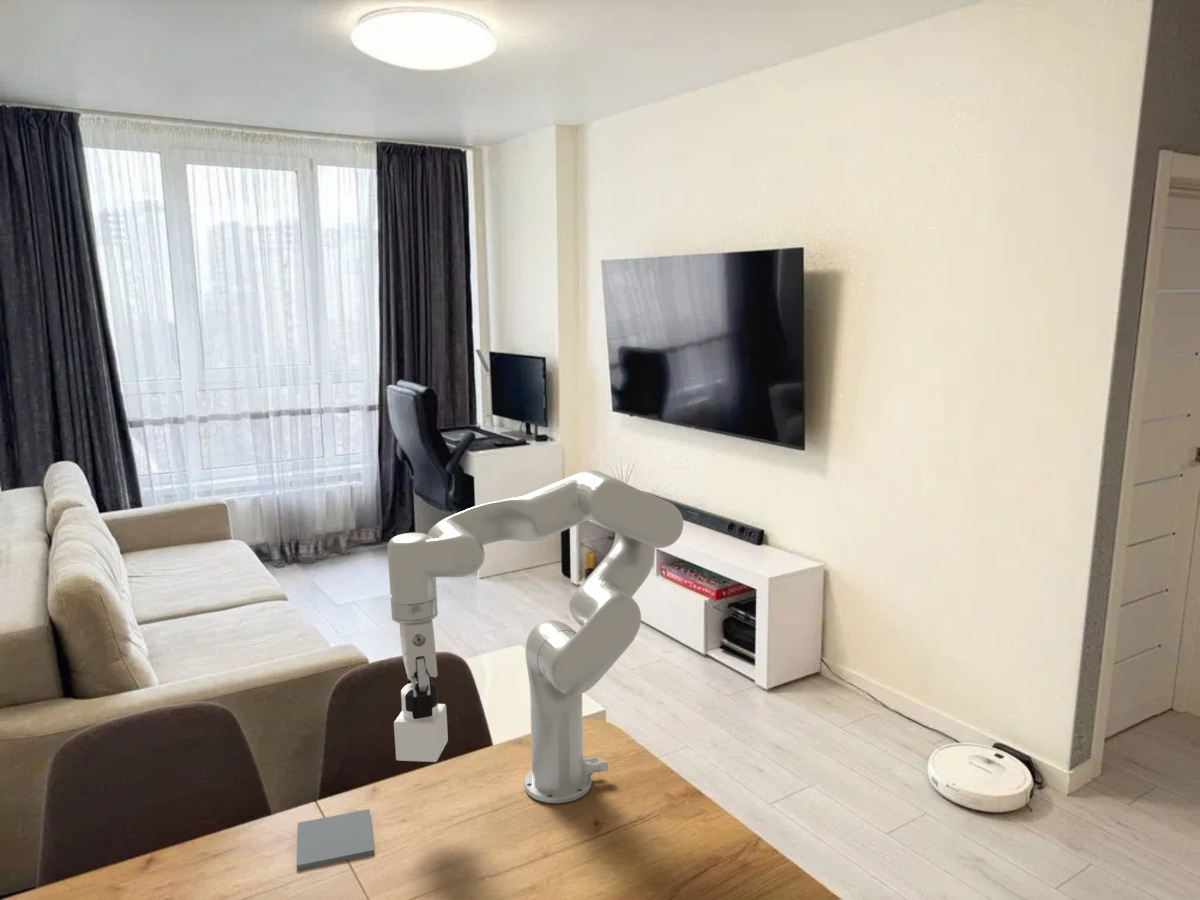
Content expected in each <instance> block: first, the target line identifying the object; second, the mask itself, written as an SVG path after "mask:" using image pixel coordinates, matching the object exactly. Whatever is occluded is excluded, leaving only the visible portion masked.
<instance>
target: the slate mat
mask: <svg viewBox="0 0 1200 900" xmlns="http://www.w3.org/2000/svg"><path fill="white" fill-rule="evenodd" d="M371 820H372V819H371V812H370V808H368V809H363V810H358V811H352V812H347V813H343V814H342V813H341V814H337V815H331V816H327V817H321V818H316V819H310V820H305V821H300V822H297V835H296V836H297V838H296V843H297V844H296V871H298V870H299V871H300V870H304V869H309V868H314V867H320V866H323V865H324V866H325V865H329V864H333V863H337V862H343V861H347V860H348V861H349V860H352V859H358V858H362V857H367V856H372V855H375V847H374V839H373V837H374V836H373V831H372V829H373V828H372V821H371Z"/></svg>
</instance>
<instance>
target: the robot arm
mask: <svg viewBox="0 0 1200 900" xmlns="http://www.w3.org/2000/svg"><path fill="white" fill-rule="evenodd" d="M587 521H591V522H593V523H595V524H597V525H599V526H601V527H603V528H605V529H607V530H610V531H611V532H614V533H615V535H614V540H613V543H612V546H611V548H610V549H609V552H608V553H607V555H606V556H605V557H603V559H602V561H601V562H599V564H598V565H597V566H596V567H595V569H594V570H593V571H592V572H591V573H590V574H589V575H588V576H587V577H586V578H585V579H584V581H583V582H582V583H581V584H580V585H579V586H578V588H576V589H575V591H574V592H573V594H572V595H571V597H570V601H569V605H568V607H569V612H570V615H571V617H572V618H573V619H574V622H576V623H577V624H578V625H579V626H580V628H579V629H578V631H576V630H575V629H574V628H572V627H571V626H569V625H568V624H566V623H565V622H562V621H559V620H554V619H549V620H548V619H547V620H544V621H542V622H539V623H538V624H536V625H535V626H534V627H533V628H532V629H531V631H530V632H529V634H528V636H527V639H526V642H525V650H524V651H525V662H526V668H527V675H528V682H529V693H530V699H529V700H530V736H531V738H530V739H531V745H530V746H531V770H529V771H528V772H527V774H526V775H525V777H524V781H523V782H524V783H523V786H524V790H525V792H526V794H528V795H529V796H530V797H531V798H533V799H534V800H536V801H539V802H542V803H548V804H564V803H569V802H574V801H576V800H578V799H581V798H582V797H584V796H586V795H587V793H589V791H590V790H591V789H592V776H593V774H595V773H602V772H607V771H609V764H608V763H609V762H608V761H607V760H606V759H605V760H599V761H598V757H597V756H596V755H594V756H589V757H584V751H583V750H584V745H583V744H584V741H583V740H584V739H583V737H584V735H583V733H584V732H583V694H584V693H586V692H588V691H589V690H591V689H592V688H593V687H595V686H596V685H597V683H598V682H599V681H600V680H601V679H602V678H603V677H604V676H605V675H606V673H607V672H608V671H609V670H610V669H611V667H612V666H613V665H615V663H616V661H617V660H619V659H620V657H621V656H622V655H623V654H624V653H625V651H626V650H627V649H628V648H629V647H630V646H631V644H632V643H633V642H634V640H635V638H636V636H637V635H638V632H639V631H640V626H641V623H642V613H641V609H640V606H639V605H638V603H637V601H636V600H635V599H634V598H633V597H634V595H635V594H637V591H638V590H639V589H640V587H642V585H643V583H644V582H645V581H646V580H647V578H648V577H649V575H650V573H651V571H652V569H653V565H654V561H655V554H656V553H655V552H656V549H663V548H667V547H670V546H671V545H674V544H675V543H676V542H677V541H678V540H679V538H680V537H681V535H682V534H683V533H682V532H683V529H684V517H683V515H682V513H681V511H680V510H679V508H677V506H676V505H675V504H673V503H671V502H669V501H667V500H665V499H662V498H659V497H657V496H655V495H652V494H650V493H648V492H645V491H643V490H640V489H638V488H636V487H634V486H632V485H630V484H628V483H626V482H624V481H622V480H620V479H618V478H617V477H616V478H615V477H613V476H611V475H608V474H606V473H604V472H601V471H598V470H594V469H593V470H592V469H591V470H589V469H587V470H584V471H580V472H578V473H577V472H576V473H574V474H573V475H570V476H567V477H565V478H563V479H561V480H558V481H555V482H553V483H550V484H549V485H548V484H547V485H545V486H543V487H541V488H539V489H536V490H534V491H531V492H528V493H526V494H523V495H520V496H516V497H510V498H505V499H502V500H501V499H500V500H497V501H496V500H495V501H492V502H487V503H482V504H480V505H476V506H472V507H470V508H466V509H465V510H462V511H459V512H457V513H454V514H453V515H450V516H448V517H445V518H443V519H441V520H440V521H438V522H437V523H435V524H434V525H433V526H432V527H431V528H430V529H429V531H428V532H427V533H422V532H407V533H406V532H405V533H401V534H397V535H395V536H393V537H392V538H390V540H389V541H388V543H387V561H388V562H387V563H388V573H389V575H388V577H389V590H390V592H389V594H390V596H389V597H390V609H391V619H392V621H393V622H395V623H397V624H399V635H400V645H401V646H400V647H401V653H402V659H403V664H404V668H405V673H406V675H407V678H406V680H407V681H406V682H407V683H406V685H407V684H409V683H412V688H413V695H412V696H411V697H412V714H413V718H414V719H419V718H425V717H431V716H432V697H431V693H430V684H429V682H430V678H437V676H438V666H437V665H438V664H437V655H436V654H437V653H436V640H435V639H436V638H435V631H434V630H435V629H434V621H433V620H434V619H435V618H437V616H438V614H439V611H438V596H437V595H438V594H437V592H438V591H437V578H464V577H468V576H471V575H473V574H475V573H476V572H478V571H479V570H480V569H481V567H482V566H483V564H484V562H485V556H486V554H485V549H484V546H485V545H488V544H493V543H496V542H502V541H517V542H518V541H519V542H541V541H543V540H546V539H548V538H550V537H553V536H555V535H557V534H559V533H563V532H565V531H567V530H568V529H571V528H573V527H576V526H578V525H580V524H582V523H585V522H587ZM416 681H418V685H417V687H416Z"/></svg>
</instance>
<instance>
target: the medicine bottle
mask: <svg viewBox="0 0 1200 900" xmlns="http://www.w3.org/2000/svg"><path fill="white" fill-rule="evenodd" d="M429 684H430V693H431V697H432V716H431V717H425V718H419V719H414V718H413V714H412V697H411V696H412V695H413V688H412V683H409V684H407V683H406V685H404V686H403V687H402V689H401V690H400V697H401V698H400V699H401V700H400V701H401V711H400V713H399V715H398V716H397V717H396V719H395V720H394V722H393V730H394V731H393V732H394V747H395V760H396V761H400V762H401V761H403V762H405V761H406V762H428V763H429V762H430V763H436V762H437V761H438V760H439V758H440V756H441V754H442V753H443V751H444V749H445V747H446V745H447V743H448V742H449V737H448V735H449V734H448V717H447V716H448V715H447V705H446V704H445V703H439V698H438V697H439V696H438V687H437V685H436V684H435V683H434V682H431V681H429ZM417 685H418V681H416V687H417Z"/></svg>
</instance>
